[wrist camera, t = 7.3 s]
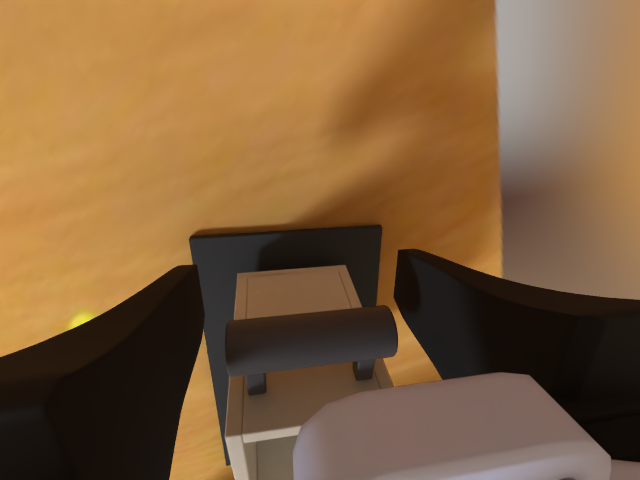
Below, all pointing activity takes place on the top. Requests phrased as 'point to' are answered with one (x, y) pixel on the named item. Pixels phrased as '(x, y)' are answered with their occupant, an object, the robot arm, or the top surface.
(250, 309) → the white case
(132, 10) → the top surface
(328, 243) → the mat
